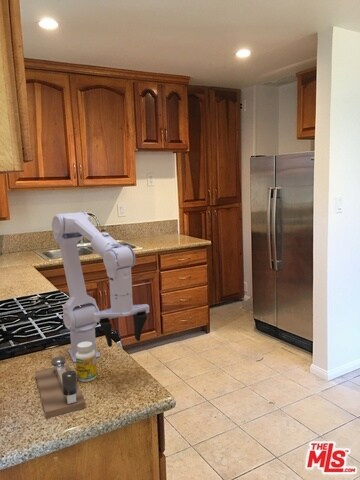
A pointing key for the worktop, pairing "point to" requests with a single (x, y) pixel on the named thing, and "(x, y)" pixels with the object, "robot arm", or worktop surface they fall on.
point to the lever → (66, 379)
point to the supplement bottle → (86, 362)
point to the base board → (56, 393)
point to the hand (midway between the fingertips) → (123, 342)
